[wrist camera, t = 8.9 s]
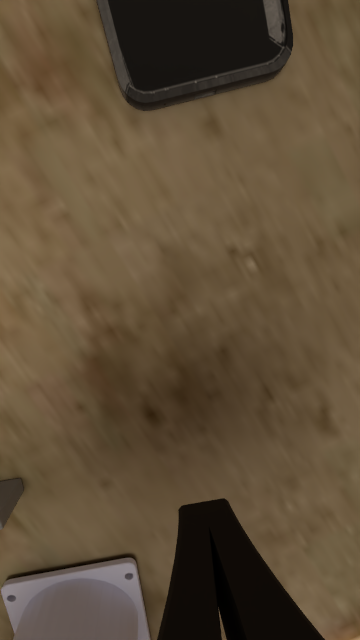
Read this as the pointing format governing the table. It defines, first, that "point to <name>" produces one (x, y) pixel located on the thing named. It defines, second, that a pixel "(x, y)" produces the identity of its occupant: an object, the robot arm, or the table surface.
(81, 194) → the table surface
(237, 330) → the table surface
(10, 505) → the grey u-shaped rail
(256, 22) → the phone
